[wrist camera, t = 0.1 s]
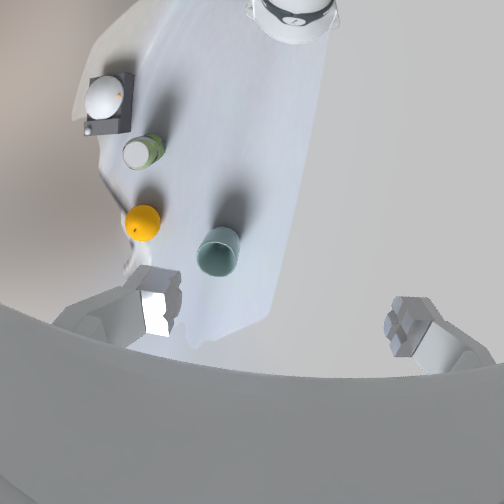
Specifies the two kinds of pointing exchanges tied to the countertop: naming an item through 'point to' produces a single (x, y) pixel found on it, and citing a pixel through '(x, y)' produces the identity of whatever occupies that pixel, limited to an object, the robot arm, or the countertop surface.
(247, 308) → the countertop surface
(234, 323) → the countertop surface
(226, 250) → the cup
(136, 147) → the beverage can
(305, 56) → the countertop surface
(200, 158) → the countertop surface
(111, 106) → the body block
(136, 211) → the apple
